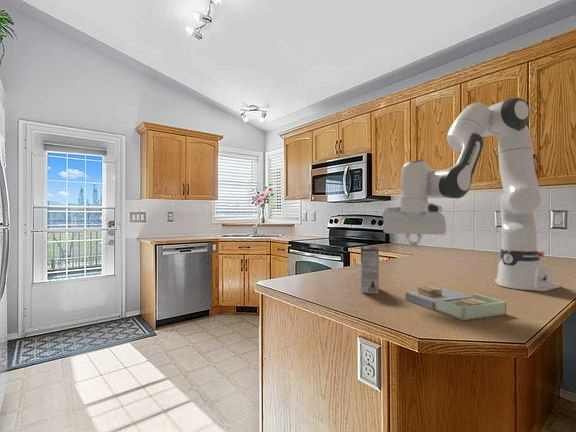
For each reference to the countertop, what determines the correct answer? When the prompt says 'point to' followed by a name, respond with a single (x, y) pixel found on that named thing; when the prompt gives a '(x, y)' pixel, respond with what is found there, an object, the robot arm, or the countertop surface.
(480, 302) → the tile
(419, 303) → the board
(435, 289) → the tile
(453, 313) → the tray
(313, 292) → the countertop surface
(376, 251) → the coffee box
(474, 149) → the robot arm
